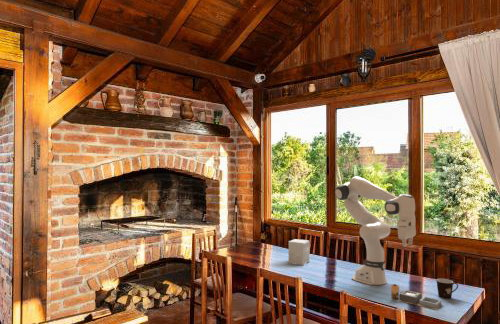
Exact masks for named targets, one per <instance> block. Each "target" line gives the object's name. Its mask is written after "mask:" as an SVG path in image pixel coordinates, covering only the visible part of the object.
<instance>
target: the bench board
mask: <svg viewBox="0 0 500 324" xmlns="http://www.w3.org/2000/svg"><path fill="white" fill-rule="evenodd" d="M397 301H398V302H402V303H406V304H410V305H411V304H412V305H414V306H418V307H424V308H427V309H432V310H435V311H437V310H438V309H439V308H437V309H434V308H430V307H426V306H422V305H420V302H418V303H417V304H413V303H409V302H405V301H401V300H399V299H397ZM441 306H443V303H441Z"/></svg>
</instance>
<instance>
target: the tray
mask: <svg viewBox="0 0 500 324" xmlns="http://www.w3.org/2000/svg"><path fill="white" fill-rule="evenodd" d="M419 301H420V305H422V306H426V307H430V308H434V309H433V310H435V309H437V308H438V309H439V308H440V307H441V306H442V305H441V304H442V299H437V298H434V297H429V296H423V297H422V299H421V300H419ZM422 306H421V307H422ZM426 307H425V308H426ZM430 308H429V309H430ZM438 309H437V310H438Z"/></svg>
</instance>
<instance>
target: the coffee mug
mask: <svg viewBox="0 0 500 324" xmlns="http://www.w3.org/2000/svg"><path fill="white" fill-rule="evenodd" d="M435 281H436V286H437V287H436V288H437V294H438V295H437V296H438V297H439V298H441V299H446V300H451V299H452V298H453V297H452V296H453V295H452V294H453V293H454V292H456V291H457V289H458V288H459V285H458V283H456V282H454V281H453V280H451V279H448V278H437V279H435ZM455 284H456V287H455V289H453V287H454V285H455Z"/></svg>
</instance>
